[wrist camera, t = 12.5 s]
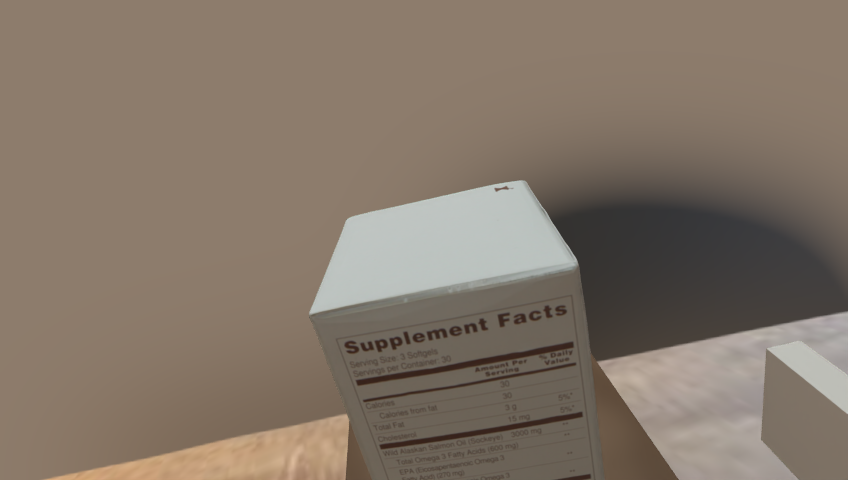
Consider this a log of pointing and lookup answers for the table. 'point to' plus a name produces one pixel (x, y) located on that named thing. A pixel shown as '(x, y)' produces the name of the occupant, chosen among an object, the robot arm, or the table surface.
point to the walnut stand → (619, 435)
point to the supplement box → (462, 341)
